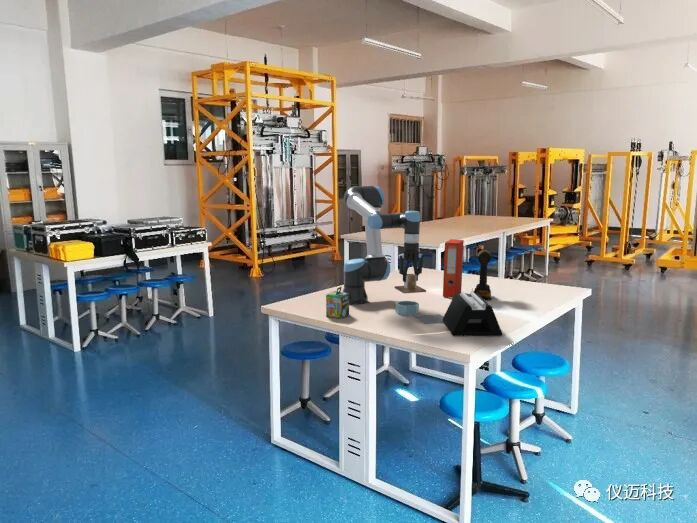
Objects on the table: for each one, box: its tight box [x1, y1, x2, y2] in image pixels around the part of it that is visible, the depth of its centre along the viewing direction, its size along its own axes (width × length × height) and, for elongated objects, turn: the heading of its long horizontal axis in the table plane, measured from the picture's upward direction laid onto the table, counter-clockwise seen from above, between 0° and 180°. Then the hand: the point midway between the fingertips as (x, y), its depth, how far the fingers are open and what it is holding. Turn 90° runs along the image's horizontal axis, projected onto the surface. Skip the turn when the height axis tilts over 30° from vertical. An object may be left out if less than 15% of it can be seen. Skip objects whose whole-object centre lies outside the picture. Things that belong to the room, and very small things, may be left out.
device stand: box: [442, 290, 503, 337], centre depth 260 cm, size 22×22×15 cm
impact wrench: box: [472, 249, 492, 300], centre depth 328 cm, size 14×21×28 cm, turn 165°
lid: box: [394, 273, 427, 294], centre depth 286 cm, size 12×12×8 cm
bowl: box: [395, 300, 420, 316], centre depth 289 cm, size 11×11×6 cm
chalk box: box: [325, 286, 350, 319], centre depth 285 cm, size 9×9×15 cm
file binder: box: [442, 238, 465, 298], centre depth 332 cm, size 8×17×32 cm, turn 159°
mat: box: [411, 313, 445, 325], centre depth 278 cm, size 15×15×1 cm
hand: (410, 287), depth 287 cm, fingers closed on lid, 4 cm apart
